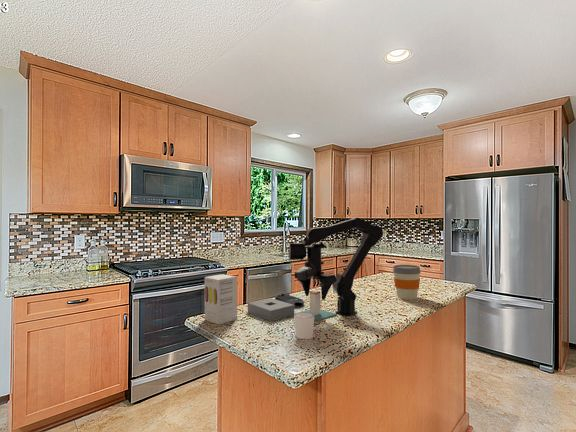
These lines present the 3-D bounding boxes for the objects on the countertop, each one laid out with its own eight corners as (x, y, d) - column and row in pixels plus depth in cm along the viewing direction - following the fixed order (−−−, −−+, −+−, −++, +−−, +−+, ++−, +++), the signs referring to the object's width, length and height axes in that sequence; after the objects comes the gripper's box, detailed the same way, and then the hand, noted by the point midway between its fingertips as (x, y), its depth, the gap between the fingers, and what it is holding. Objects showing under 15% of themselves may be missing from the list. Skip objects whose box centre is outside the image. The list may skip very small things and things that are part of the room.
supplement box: (203, 320, 124) (203, 276, 124) (222, 314, 131) (222, 273, 131) (218, 325, 118) (218, 279, 118) (238, 319, 124) (237, 276, 125)
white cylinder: (293, 332, 108) (292, 312, 108) (313, 332, 109) (312, 311, 109) (295, 340, 101) (294, 318, 101) (316, 339, 102) (316, 317, 102)
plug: (320, 313, 128) (320, 291, 128) (315, 315, 126) (315, 292, 126) (315, 312, 130) (314, 290, 130) (310, 313, 128) (309, 291, 128)
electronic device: (273, 305, 149) (291, 308, 137) (273, 293, 150) (291, 295, 138) (289, 305, 154) (308, 307, 142) (290, 293, 155) (308, 295, 143)
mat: (336, 315, 127) (336, 314, 127) (315, 321, 120) (315, 320, 120) (315, 309, 136) (315, 308, 136) (294, 314, 129) (294, 313, 129)
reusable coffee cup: (423, 296, 156) (422, 265, 157) (418, 301, 146) (417, 269, 146) (397, 293, 163) (396, 264, 163) (390, 298, 152) (389, 267, 153)
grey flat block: (294, 314, 129) (294, 304, 129) (270, 321, 121) (270, 310, 121) (270, 306, 141) (270, 297, 141) (247, 312, 133) (247, 302, 133)
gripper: (284, 259, 130) (284, 297, 130) (316, 263, 116) (317, 306, 116) (304, 256, 137) (304, 292, 137) (337, 260, 123) (337, 300, 123)
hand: (315, 297), depth 128 cm, fingers open, 9 cm apart
